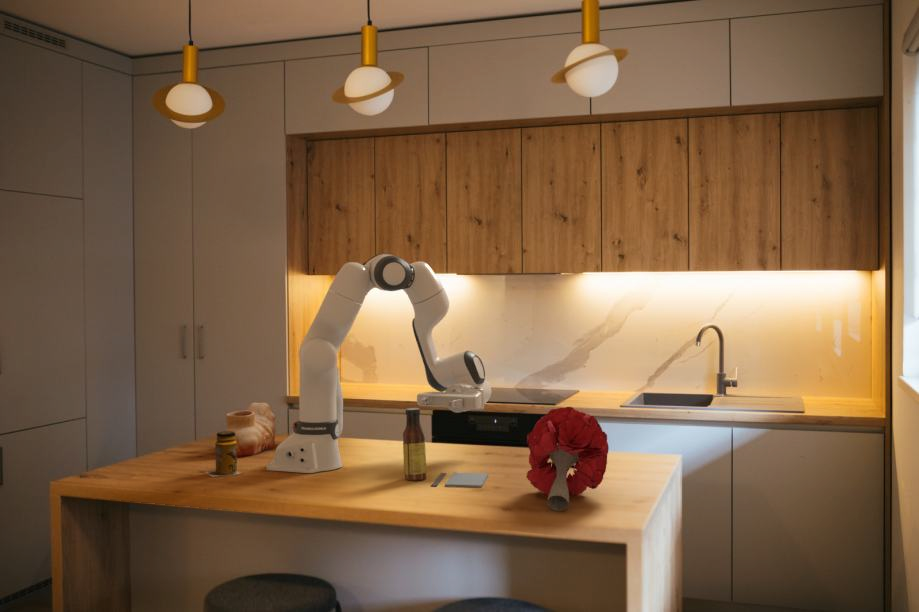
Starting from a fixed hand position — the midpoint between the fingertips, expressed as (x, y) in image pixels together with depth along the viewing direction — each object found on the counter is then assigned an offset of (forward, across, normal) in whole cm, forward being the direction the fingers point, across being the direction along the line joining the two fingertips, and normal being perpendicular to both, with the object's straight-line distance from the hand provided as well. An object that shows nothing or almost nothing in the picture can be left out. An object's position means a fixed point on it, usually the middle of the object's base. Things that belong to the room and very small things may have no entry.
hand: (436, 403), depth 257 cm
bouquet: (+14, +45, +20) cm, 51 cm away
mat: (+8, +14, +20) cm, 25 cm away
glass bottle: (-24, -58, +20) cm, 66 cm away
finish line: (+10, +6, +20) cm, 23 cm away
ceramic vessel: (+1, -72, +19) cm, 74 cm away
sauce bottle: (+12, 0, +20) cm, 23 cm away
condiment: (+32, -54, +19) cm, 65 cm away
